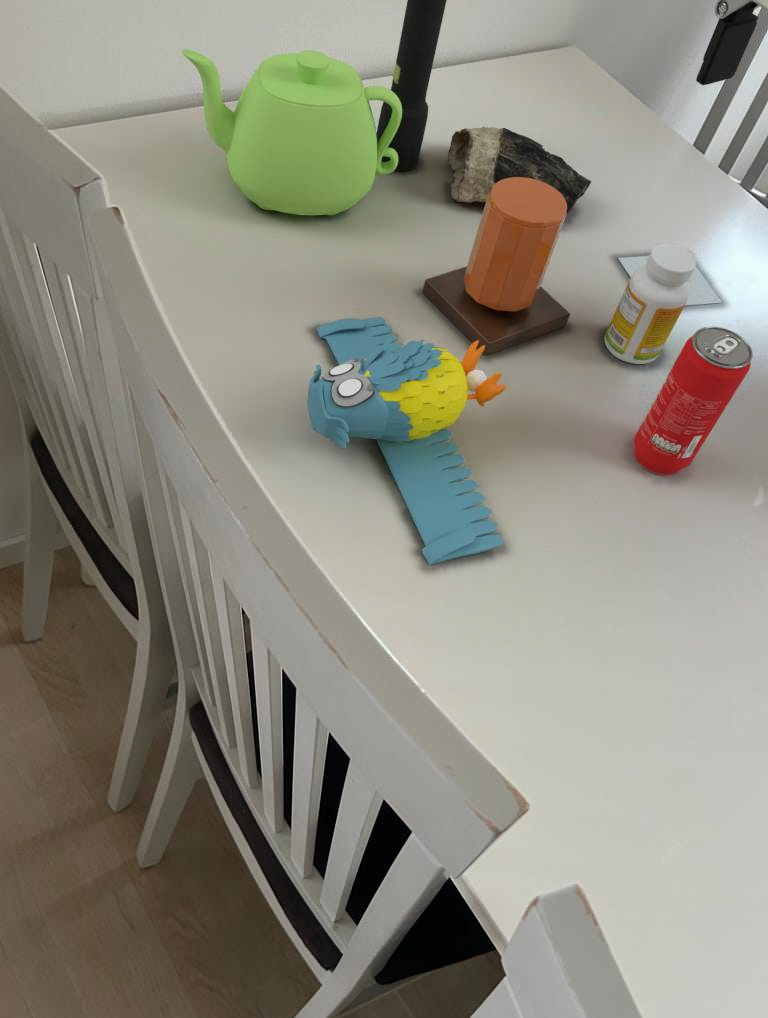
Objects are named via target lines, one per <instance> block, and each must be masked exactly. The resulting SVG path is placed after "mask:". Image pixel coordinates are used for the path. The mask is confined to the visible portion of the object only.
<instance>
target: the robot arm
mask: <svg viewBox="0 0 768 1018" xmlns="http://www.w3.org/2000/svg"><path fill="white" fill-rule="evenodd" d="M759 8H762V9H763V10H765V11H766V12H768V0H717V2H716V3H715V5H714V14H715V17H716V18H717V19H718V21H717V23H716V26H715V28H714V30H713V33H712V35H711V38H710V40H709V42H708V44H707V47H706V50H705V52H704V55H703V59H702V63H701V66H700V68H699V71H698V73H697V76H696V78H695V81H696V82H697V83H698V84H700V85H701V86H706V85H711V84H715V83H718V82H723V81H726V80H730V79H732V78H733V77H734V76H735V74H736V72H737V70H738V67H739V66H740V64H741V61H742V59H743V57H744V54H745V52H746V50H747V48H748V45H749V43H750V40H751V38H752V36H753V33H754V32H755V29H756V28H757V24H758V22H757V21H758V19H759V16H758V15H756V14H755V13H754V11H755V10H757V9H759Z"/></svg>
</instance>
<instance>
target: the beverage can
mask: <svg viewBox="0 0 768 1018" xmlns="http://www.w3.org/2000/svg"><path fill="white" fill-rule="evenodd" d="M753 353H754V352H753V349H752V347H751V345H750V344H749V342H748V341H747V340H746V339H745V338H744V337H742V336H741V335H740V334H739V333H737V332H734V331H732V330H729V329H728V328H724V327H720V326H704V327H701V328H699V329H697V330H696V331H695V332H694V334H693V335H692V336H690V337H688V339H687V340H686V341H685V343H684V345H683V346H682V349H681V350H680V352H679V354H678V356H677V358H676V360H675V362H674V363H673V364H672V367H671V368H670V371H669V373H668V375H667V376H666V378H665V380H664V382H663V384H662V386H661V387H660V389H659V391H658V393H657V395H656V397H654V400H653V402H652V404H651V406H650V408H649V409H648V411H647V413H646V415H645V417H644V419H643V420H642V422H641V424H640V426H639V427H638V430H637V432H636V433H635V436H634V439H633V445H634V447H633V456H634V459H635V460H636V462H637V464H639V465H640V466H641V467H642V468H643V469H644V470H646V471H647V472H650V473H651V474H654V475H658V476H664V477H666V476H667V477H668V476H673V475H676V474H678V473H680V472H681V470H683V469H685V468H687V467H688V466H690V465H691V464H692V462H693V460H694V459H695V457H696V456H697V454H698V453H699V452H700V449H702V446H703V445H704V443H705V441H706V440H707V438H708V437H709V435H710V433H711V432H712V430H713V429H714V427H715V425H716V424H717V422H718V421H719V419H720V417H721V416H722V414H723V413H724V411H725V410H726V408H727V406H728V405H729V403H730V402H731V400H732V398H733V397H734V395H735V394H736V392H737V390H738V389H739V387H740V385H741V384H742V382H743V381H744V379H745V378H746V376H747V375H748V372H749V371H750V369H751V366H752V365H751V363H752V360H753V358H754V357H753V356H754V354H753Z"/></svg>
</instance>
